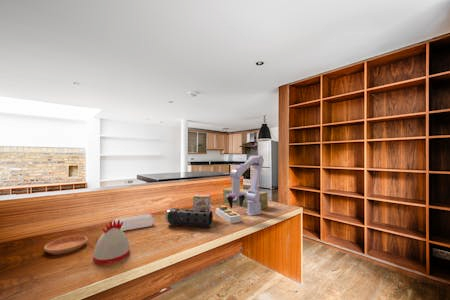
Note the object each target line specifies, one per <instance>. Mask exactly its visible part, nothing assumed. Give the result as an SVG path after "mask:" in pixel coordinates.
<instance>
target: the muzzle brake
mask: <svg viewBox="0 0 450 300" xmlns="http://www.w3.org/2000/svg"><path fill="white" fill-rule="evenodd" d="M164 218H165V222H166V223H168V224H170V225H176V226H179V227H182V226H191V227H195V228H205V229H207V228H209V229H210V228H212V227H211V226H212V224H213V219H214V213H213V211H212V210H210V211H201V210H193V209H182V208H180V209H179V208H169V209H167V211H166V212H165V217H164Z"/></svg>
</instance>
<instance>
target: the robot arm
mask: <svg viewBox="0 0 450 300" xmlns="http://www.w3.org/2000/svg"><path fill="white" fill-rule="evenodd" d="M264 161H265V160H264V157H263V155H249V156H248V159H247V160H246V161H245V162H244V163H240V164H239V165H238V166H237V167H235V169H231V171H230V173H229V176H230V179H231V188H232V193H230V194H226V197H227V199H228V202H229V204H228V205H229V209H230V208H231V209H233V204H232V202H233V198H232V197H235V196H239V205H240V206H239V207H242V204H243V201H244V199H245V198H246V200H247V201H248V208H247V211H245V214H248V215H249V216H257V215H261V214H262V211H261V210H262V209H261V204H260V202H259V199H260V192H259V190H258V189H259V183H260V178H261V175H262V169H263V165H264ZM249 166H252V167H253V168H254V171H253V174H252V179H251V183H250V188H248V189H246V190H247V193H244V192H243V193H240V189H241V178H242V177H243V174H244V173H245V172H246V171H247V170H248V168H249Z"/></svg>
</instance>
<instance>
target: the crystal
mask: <svg viewBox="0 0 450 300" xmlns="http://www.w3.org/2000/svg"><path fill="white" fill-rule="evenodd" d="M118 220H120V224H121V222H123V224H122V226H121V228H120V230H122V231H123V232H124V231H128V230H135V229H140V228H146V227H152V226H153V224H154V221H155V220H154V218H153V216H152V214H151V213H148V214H147V213H146V214H139V215H133V216H125V217H120V218H119V217H118V218H114V219H113V221H111V222H112V226H113V223H114V221H115V222H116V225H117V222H118Z"/></svg>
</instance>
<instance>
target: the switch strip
mask: <svg viewBox="0 0 450 300" xmlns="http://www.w3.org/2000/svg"><path fill="white" fill-rule="evenodd" d="M228 209H229V210H231V209H230V208H228V207H227V210H228ZM231 211H232V212H234V213H236V214H237V215H234V216H230V215H228V213H225V212H223V210H222V211H221V210H220V209H219V207H216V208H215V214H216V215H217V216H219V217H220V218H222V219H223V220H225V222H227V223H229V224H236V223H241V221H242V215H241V214H239V213H237V212H235V211H234V210H231ZM230 213H231V212H230Z"/></svg>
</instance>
